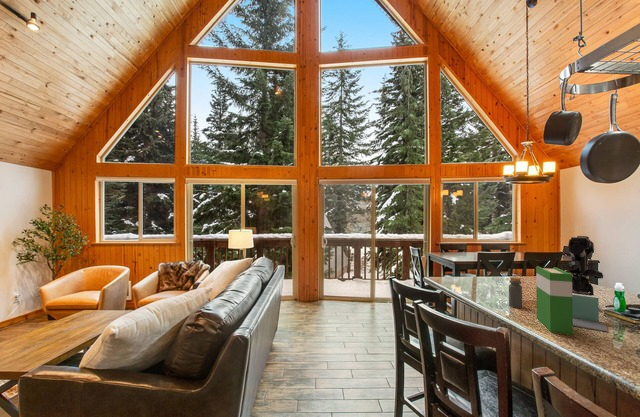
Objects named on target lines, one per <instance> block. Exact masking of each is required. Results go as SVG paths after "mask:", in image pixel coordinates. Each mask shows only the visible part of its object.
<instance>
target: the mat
mask: <svg viewBox="0 0 640 417" xmlns="http://www.w3.org/2000/svg"><path fill="white" fill-rule="evenodd" d="M573 328H582V329H586V330H592V331H596V332H604V333H608V332H609V331H608V328H607V325H606V323H605V322H600V321H599V322H594V321H588V320H582V319H576V318H573Z"/></svg>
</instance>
